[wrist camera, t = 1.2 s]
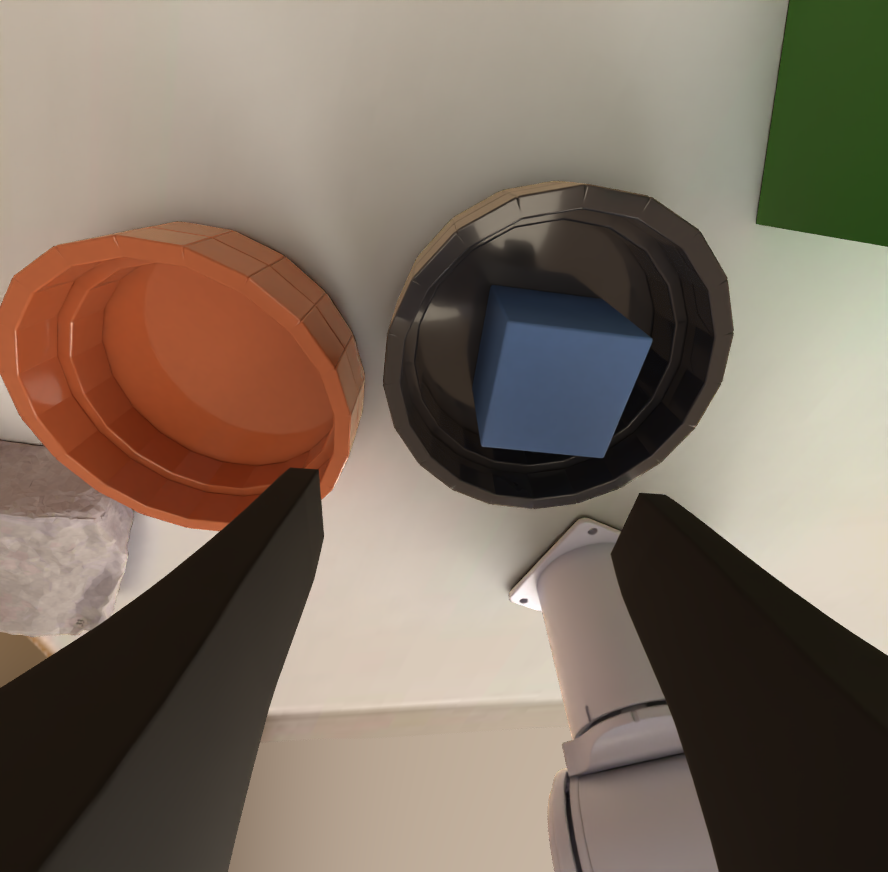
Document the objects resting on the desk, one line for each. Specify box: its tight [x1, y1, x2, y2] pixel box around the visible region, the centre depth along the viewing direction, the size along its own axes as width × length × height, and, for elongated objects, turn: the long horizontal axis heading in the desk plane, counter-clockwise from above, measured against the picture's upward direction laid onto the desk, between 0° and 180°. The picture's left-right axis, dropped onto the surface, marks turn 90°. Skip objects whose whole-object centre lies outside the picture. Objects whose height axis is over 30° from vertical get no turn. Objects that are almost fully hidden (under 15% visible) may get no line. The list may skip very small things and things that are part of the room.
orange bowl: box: [0, 221, 365, 531], centre depth 16 cm, size 12×12×4 cm
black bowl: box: [383, 181, 734, 509], centre depth 16 cm, size 12×12×4 cm
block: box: [472, 285, 653, 458], centre depth 15 cm, size 4×4×4 cm
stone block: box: [0, 440, 134, 637], centre depth 22 cm, size 12×5×10 cm
